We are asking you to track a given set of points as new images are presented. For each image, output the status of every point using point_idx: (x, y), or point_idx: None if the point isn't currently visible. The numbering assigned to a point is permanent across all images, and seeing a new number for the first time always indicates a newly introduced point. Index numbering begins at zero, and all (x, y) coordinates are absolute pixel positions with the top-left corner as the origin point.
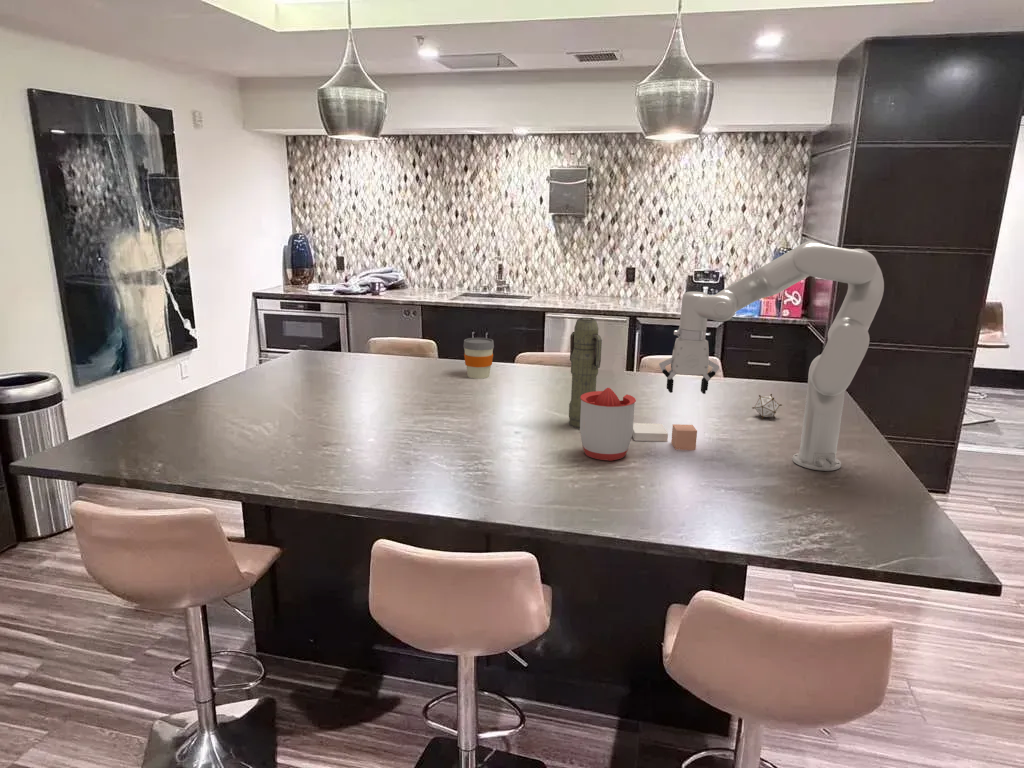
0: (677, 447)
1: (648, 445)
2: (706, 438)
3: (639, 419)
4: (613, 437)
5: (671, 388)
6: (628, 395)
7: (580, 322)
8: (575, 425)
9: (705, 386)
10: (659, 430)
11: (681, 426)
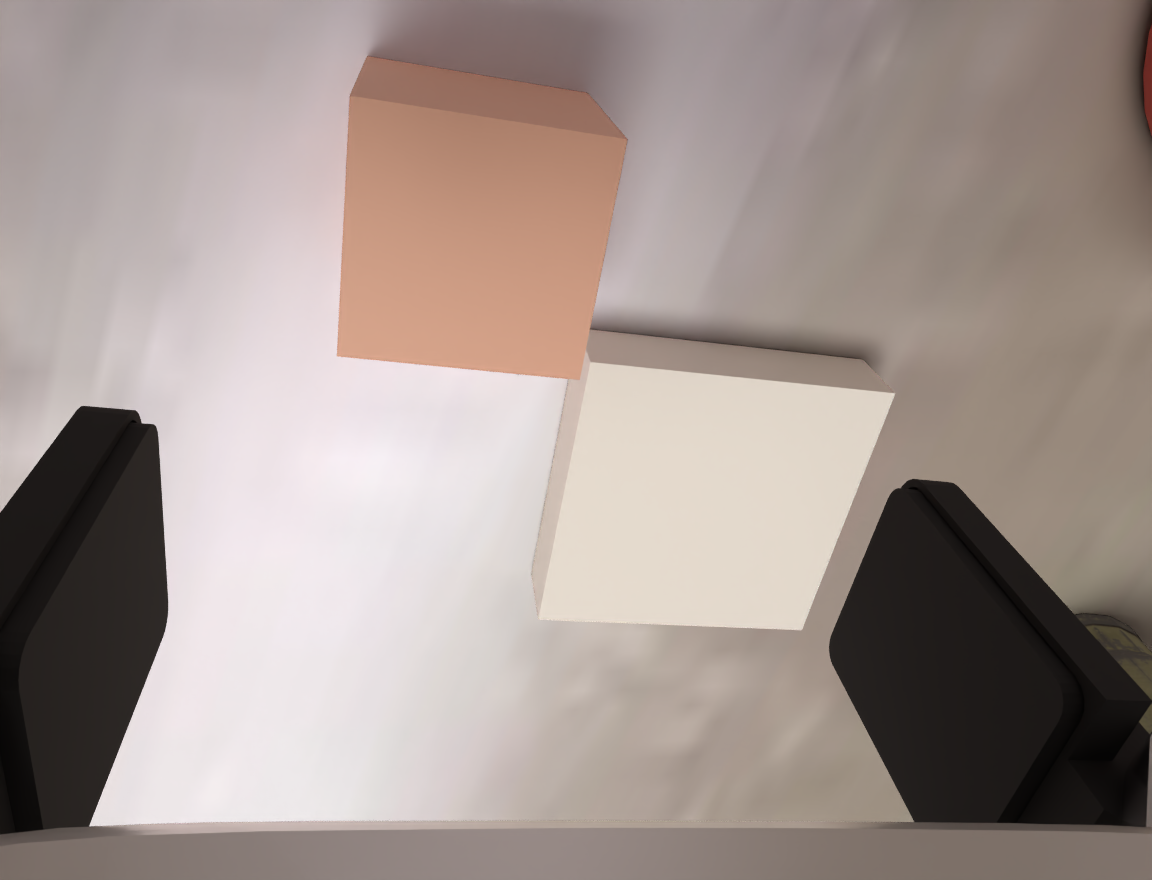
0: (569, 93)
1: (799, 233)
2: (150, 400)
3: (599, 793)
4: None
5: (979, 530)
6: None
7: None
8: (1142, 643)
9: (23, 517)
10: (634, 454)
11: (502, 298)
